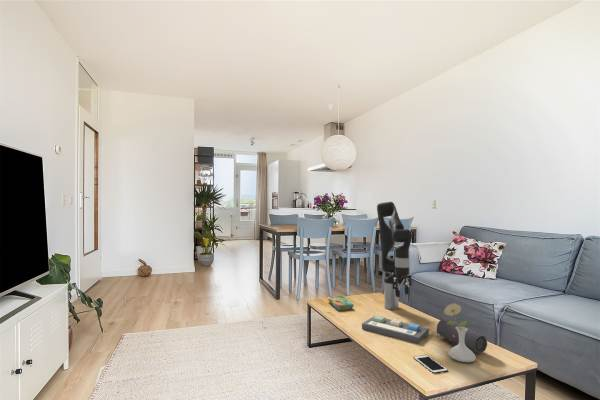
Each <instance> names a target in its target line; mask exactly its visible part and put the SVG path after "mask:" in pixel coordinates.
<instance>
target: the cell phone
mask: <svg viewBox="0 0 600 400" xmlns="http://www.w3.org/2000/svg"><path fill="white" fill-rule="evenodd" d="M413 359H414V360H415V362H416V363H418V362H419V363H418V364H420V365H421V366H422V367H424V368H425V369H426V370H427V369H428V370H427V371H429V372H430V373H431V372H432V373H431V374H433V373H437V374H442V373H441V372H444V373H448V372H449V369H448V368H447V367H445V366H444V365H443V364H441V363H440V362H438V361H437V360H435V358H433V357H431V356H430V355H428V354H422V355H415V356H413Z"/></svg>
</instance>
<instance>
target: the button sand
mask: <svg viewBox="0 0 600 400" xmlns="http://www.w3.org/2000/svg"><path fill="white" fill-rule="evenodd" d="M390 320H391V321H390V325H391V326H395V327H400V326H402V322H403V320H399V319H395V318H393V319H390Z"/></svg>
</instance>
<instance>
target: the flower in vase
mask: <svg viewBox="0 0 600 400" xmlns="http://www.w3.org/2000/svg"><path fill="white" fill-rule="evenodd" d="M443 312H444V315H446V316H449V317H454V320H448V321H449V322H448V323H447V324H450V325H454V324H455V323H456V324H458V327H456V329H457V331H458V334H459V344H458V345H457V346H456V345H454V346H453V347H451V348H450V349H449V350H448V352H447V353H448V356H449V357H451V358H452V359H453V360H456V361H458V362H461V363H472V362H475V360H476V359H477V356H476V355H475V353H474V351H472V350H470V349H469V348H467V347H466V345H465V341H464V339H465V333H466V331H467V330H468V329H469V328H468V327H466V324H467V321H468V320H467V319H466V320H462V321H460V322H459V323H458V321H457V318H456V317H457V316H456V315H459V313H460V312H462V306H461V305H460V304H458V303H450V304H448V305H447V306H445V308H444V310H443ZM460 326H464V327H460ZM465 327H466V328H465ZM467 328H468V329H467Z"/></svg>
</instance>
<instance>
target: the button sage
mask: <svg viewBox="0 0 600 400" xmlns="http://www.w3.org/2000/svg"><path fill="white" fill-rule="evenodd" d="M374 316H375V317H374V322H378V323H383V322H385V318H386V316H384V315H383V316H382V315H374Z"/></svg>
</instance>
